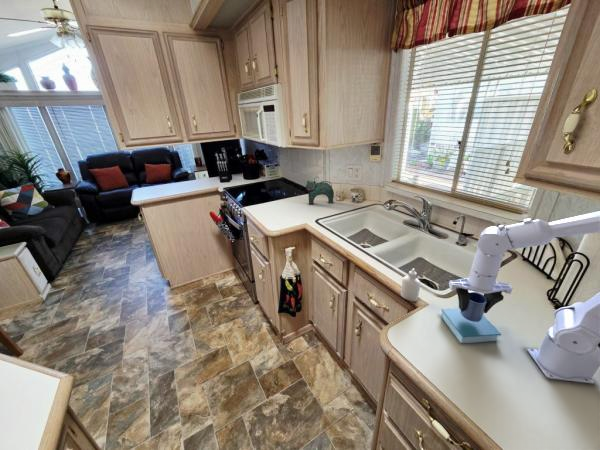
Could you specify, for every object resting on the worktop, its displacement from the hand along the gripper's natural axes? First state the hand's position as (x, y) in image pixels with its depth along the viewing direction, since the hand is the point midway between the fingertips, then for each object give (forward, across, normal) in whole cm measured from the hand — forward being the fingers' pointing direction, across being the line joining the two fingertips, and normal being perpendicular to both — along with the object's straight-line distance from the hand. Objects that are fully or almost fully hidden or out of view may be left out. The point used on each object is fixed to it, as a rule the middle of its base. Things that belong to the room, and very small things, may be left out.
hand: (472, 309), depth 71 cm
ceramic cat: (+8, +56, -110) cm, 124 cm away
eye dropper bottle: (+7, +14, -12) cm, 20 cm away
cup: (+2, 0, 0) cm, 2 cm away
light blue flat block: (+7, 0, 0) cm, 7 cm away
